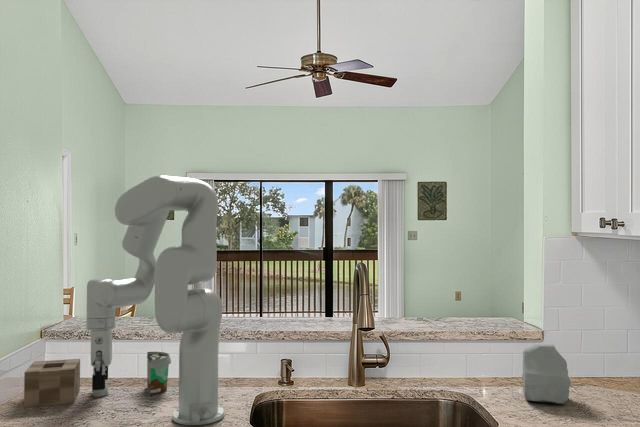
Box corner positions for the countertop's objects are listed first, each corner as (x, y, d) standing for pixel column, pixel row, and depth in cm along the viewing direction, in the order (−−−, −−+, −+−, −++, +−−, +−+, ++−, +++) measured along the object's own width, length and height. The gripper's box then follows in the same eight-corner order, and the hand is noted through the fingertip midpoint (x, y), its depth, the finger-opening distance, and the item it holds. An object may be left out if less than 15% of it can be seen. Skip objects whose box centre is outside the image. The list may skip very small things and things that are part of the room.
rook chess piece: (111, 392, 159) (111, 364, 159) (104, 397, 154) (104, 368, 154) (96, 392, 159) (96, 363, 159) (88, 397, 155) (88, 367, 155)
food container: (173, 395, 156) (173, 359, 157) (150, 397, 154) (150, 361, 154) (168, 383, 168) (168, 349, 168) (146, 385, 166) (147, 351, 166)
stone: (566, 395, 157) (565, 341, 157) (571, 409, 145) (571, 351, 146) (521, 391, 161) (521, 338, 161) (523, 404, 149) (523, 347, 149)
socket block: (74, 403, 149) (74, 369, 149) (24, 407, 146) (24, 372, 146) (79, 390, 161) (80, 358, 161) (33, 393, 157) (34, 361, 157)
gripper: (113, 328, 150) (112, 392, 149) (117, 317, 166) (116, 375, 166) (82, 329, 148) (82, 394, 147) (90, 318, 164) (89, 377, 164)
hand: (100, 384), depth 157 cm, fingers open, 9 cm apart
